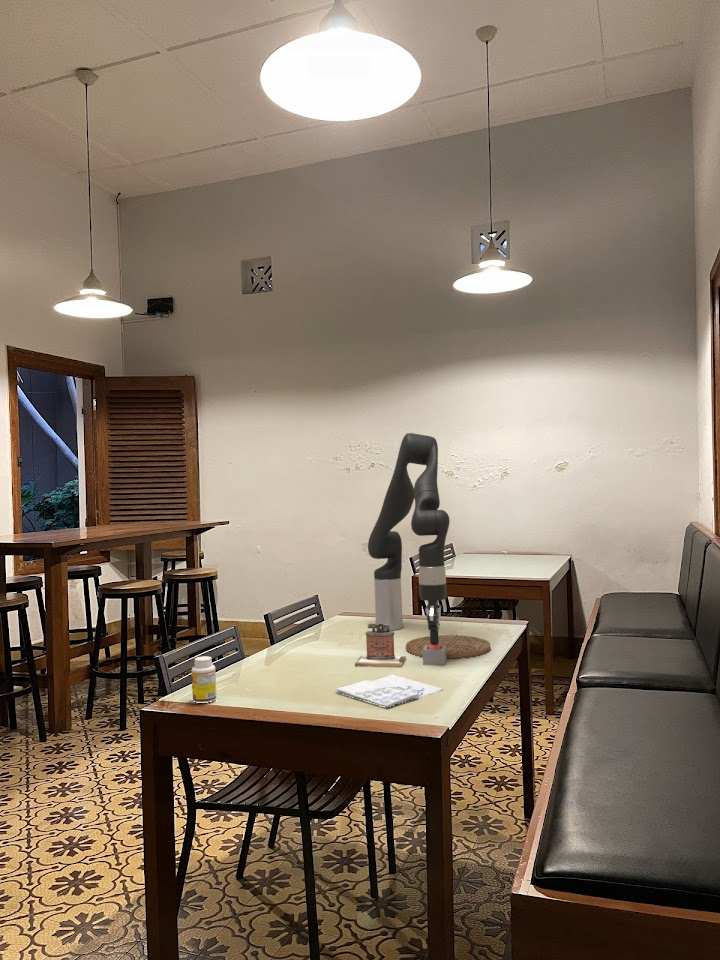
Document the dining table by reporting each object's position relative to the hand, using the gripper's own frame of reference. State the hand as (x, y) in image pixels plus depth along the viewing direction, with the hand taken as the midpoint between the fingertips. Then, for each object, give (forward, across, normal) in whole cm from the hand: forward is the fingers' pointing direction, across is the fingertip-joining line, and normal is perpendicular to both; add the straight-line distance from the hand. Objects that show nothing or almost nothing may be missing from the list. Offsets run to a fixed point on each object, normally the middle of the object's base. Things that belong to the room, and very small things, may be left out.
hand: (434, 644), depth 203 cm
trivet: (+6, +16, -2) cm, 17 cm away
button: (+4, 0, 0) cm, 4 cm away
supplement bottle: (+5, -40, +51) cm, 65 cm away
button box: (+5, 0, 0) cm, 5 cm away
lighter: (+4, -1, +15) cm, 16 cm away
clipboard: (+5, -2, +15) cm, 16 cm away
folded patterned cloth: (+6, -29, +8) cm, 31 cm away
